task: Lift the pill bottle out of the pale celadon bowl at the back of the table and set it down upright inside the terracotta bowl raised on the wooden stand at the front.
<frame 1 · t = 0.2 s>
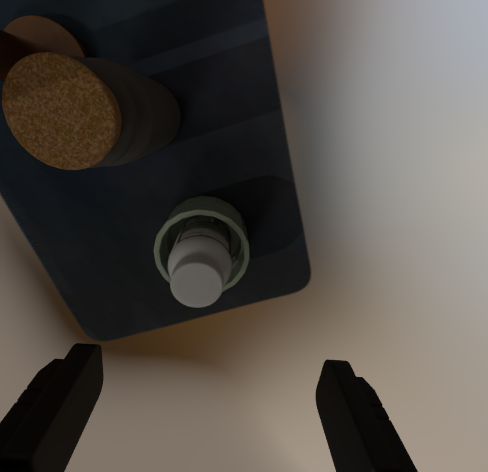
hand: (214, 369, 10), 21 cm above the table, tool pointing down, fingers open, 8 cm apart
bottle: (149, 115, 26), on the table
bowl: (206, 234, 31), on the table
stand: (51, 68, 25), on the table
pill bottle: (206, 235, 31), resting on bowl
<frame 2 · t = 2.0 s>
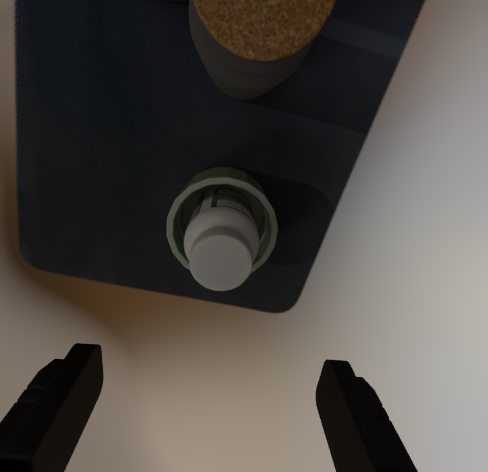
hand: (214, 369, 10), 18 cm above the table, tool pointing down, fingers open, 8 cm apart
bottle: (243, 59, 23), on the table
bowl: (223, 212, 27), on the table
pill bottle: (223, 213, 27), resting on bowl
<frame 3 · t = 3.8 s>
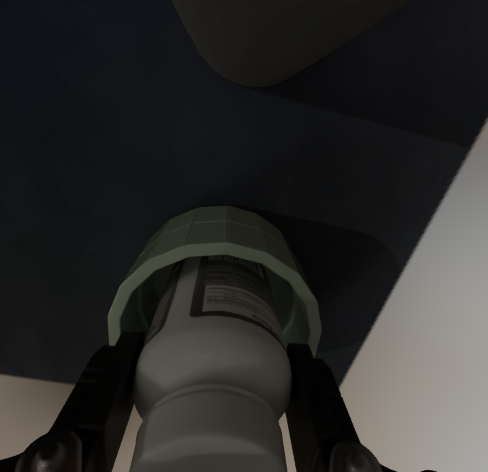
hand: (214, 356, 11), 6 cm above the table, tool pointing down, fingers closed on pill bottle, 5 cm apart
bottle: (256, 9, 12), on the table
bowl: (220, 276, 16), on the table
pill bottle: (220, 278, 16), resting on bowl, touching gripper
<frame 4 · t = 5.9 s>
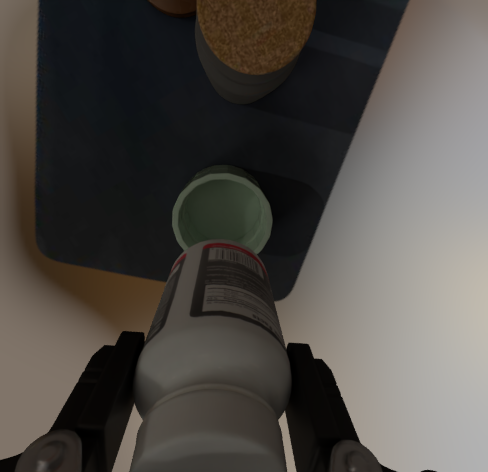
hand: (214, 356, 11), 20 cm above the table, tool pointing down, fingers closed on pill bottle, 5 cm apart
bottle: (241, 68, 25), on the table
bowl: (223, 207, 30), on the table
pill bottle: (220, 278, 16), point 14 cm above the table, touching gripper
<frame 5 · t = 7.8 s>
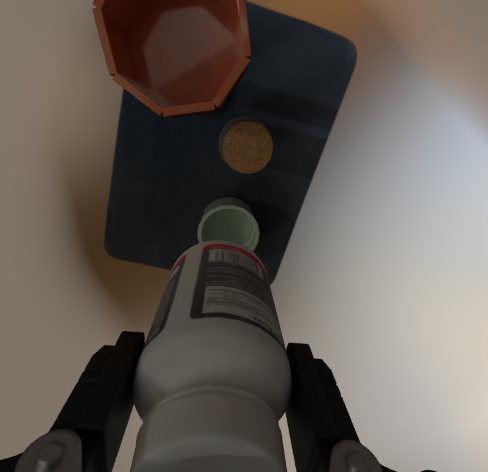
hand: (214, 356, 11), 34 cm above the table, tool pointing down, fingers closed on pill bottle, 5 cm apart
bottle: (240, 139, 41), on the table
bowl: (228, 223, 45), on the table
raised bowl: (185, 52, 21), resting on stand
pill bottle: (220, 279, 16), point 29 cm above the table, touching gripper
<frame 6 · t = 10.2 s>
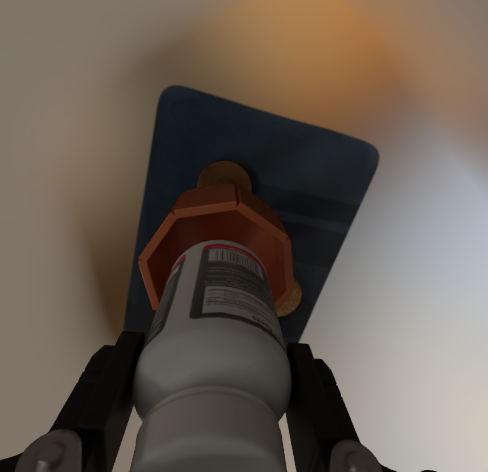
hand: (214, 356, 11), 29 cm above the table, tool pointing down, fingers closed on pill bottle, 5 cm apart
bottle: (260, 235, 41), on the table
stand: (224, 187, 38), on the table
raised bowl: (221, 242, 21), resting on stand
pill bottle: (220, 279, 16), point 23 cm above the table, touching gripper
when the fingers open (24 cm above the table, at t = 11.9 s): pill bottle stays where it is, resting on raised bowl.
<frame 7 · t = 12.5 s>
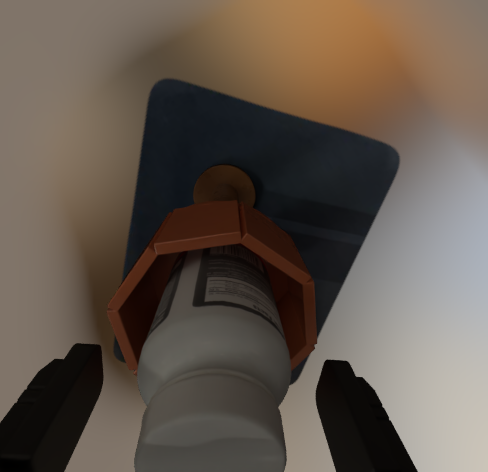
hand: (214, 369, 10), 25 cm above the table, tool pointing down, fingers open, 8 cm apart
stand: (224, 194, 34), on the table
raised bowl: (220, 271, 17), resting on stand
pill bottle: (221, 273, 17), point 18 cm above the table, touching raised bowl
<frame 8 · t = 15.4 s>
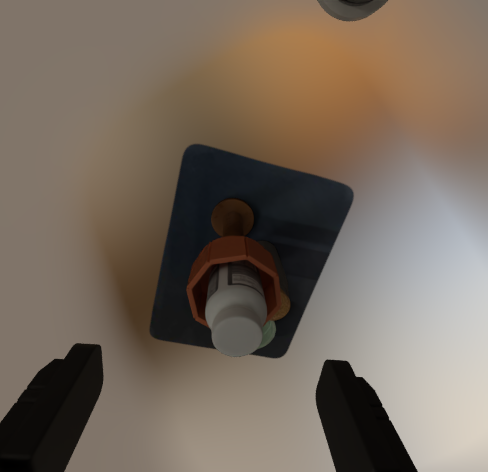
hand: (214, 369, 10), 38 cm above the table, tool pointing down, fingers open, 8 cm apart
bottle: (260, 254, 52), on the table
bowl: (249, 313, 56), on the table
stand: (232, 218, 48), on the table
raised bowl: (234, 271, 32), resting on stand
pill bottle: (234, 272, 31), point 18 cm above the table, touching raised bowl
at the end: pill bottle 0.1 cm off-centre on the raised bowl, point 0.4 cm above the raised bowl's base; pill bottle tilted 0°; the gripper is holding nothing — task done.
